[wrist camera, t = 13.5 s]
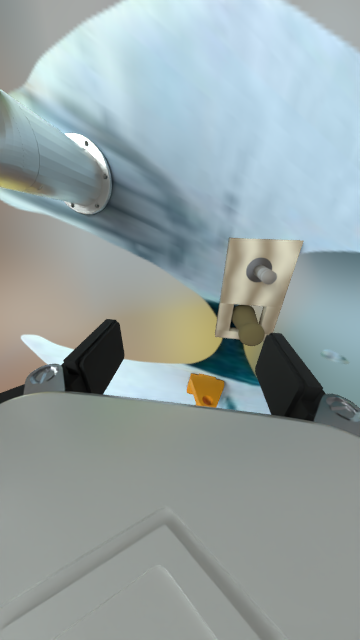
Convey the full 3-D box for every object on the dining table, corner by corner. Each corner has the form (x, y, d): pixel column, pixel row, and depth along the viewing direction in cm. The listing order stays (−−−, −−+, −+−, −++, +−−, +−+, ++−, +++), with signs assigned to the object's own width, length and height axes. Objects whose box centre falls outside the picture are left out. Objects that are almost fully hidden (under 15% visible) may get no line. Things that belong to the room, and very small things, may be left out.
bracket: (186, 386, 59) (183, 420, 48) (191, 371, 55) (188, 404, 45) (217, 393, 58) (219, 429, 48) (223, 379, 55) (228, 414, 44)
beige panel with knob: (215, 332, 47) (217, 353, 39) (229, 237, 36) (235, 239, 28) (267, 337, 46) (280, 359, 38) (298, 240, 35) (326, 242, 27)
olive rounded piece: (248, 327, 45) (260, 353, 36) (227, 321, 45) (233, 346, 36) (259, 307, 42) (275, 330, 33) (235, 301, 42) (244, 322, 33)
